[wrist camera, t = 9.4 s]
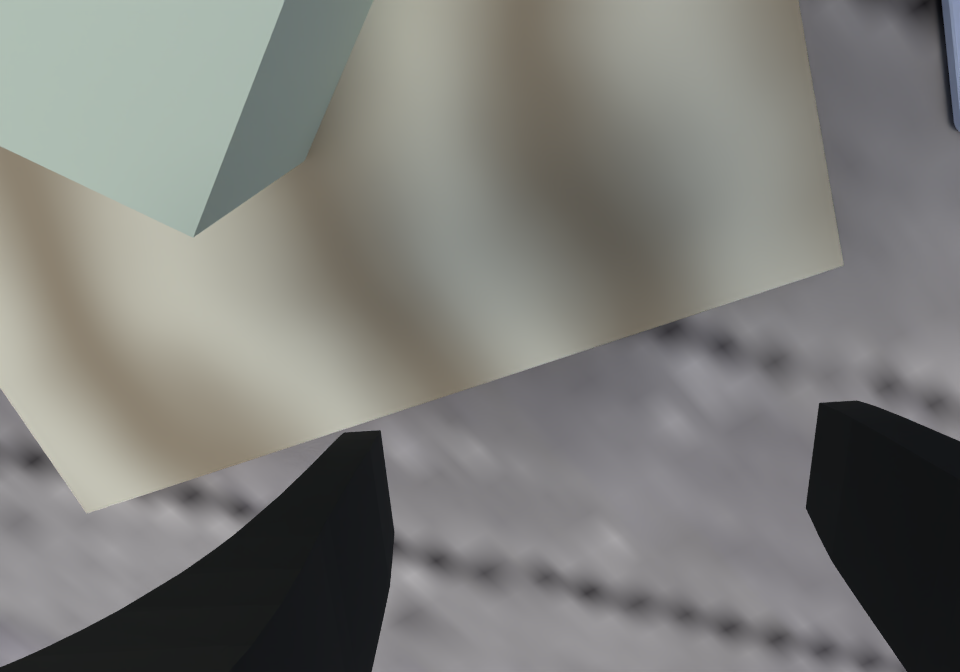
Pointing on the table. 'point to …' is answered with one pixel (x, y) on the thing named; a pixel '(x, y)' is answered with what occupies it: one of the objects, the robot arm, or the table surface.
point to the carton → (171, 95)
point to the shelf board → (421, 233)
